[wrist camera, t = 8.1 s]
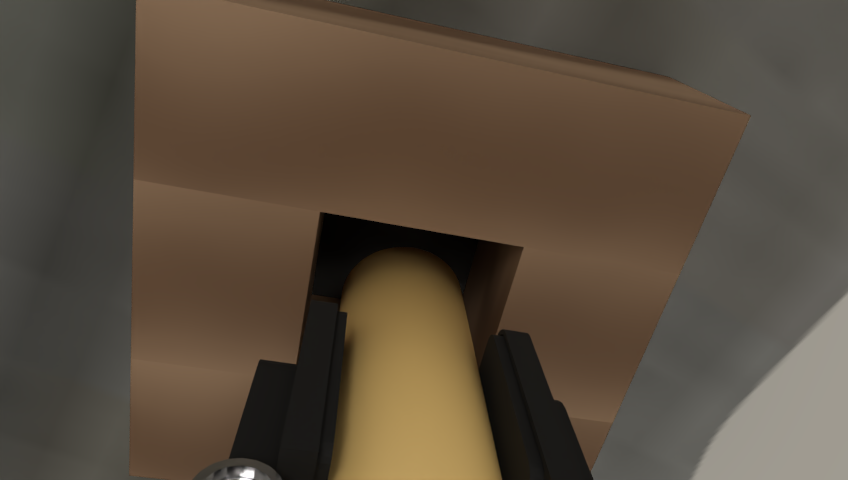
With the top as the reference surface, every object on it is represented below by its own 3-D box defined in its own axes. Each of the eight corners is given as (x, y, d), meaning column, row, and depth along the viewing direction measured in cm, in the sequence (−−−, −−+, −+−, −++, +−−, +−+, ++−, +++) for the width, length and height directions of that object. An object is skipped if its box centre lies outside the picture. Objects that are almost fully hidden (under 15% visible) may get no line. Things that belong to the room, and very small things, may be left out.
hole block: (198, -29, 14) (136, -19, 11) (668, 77, 16) (751, 115, 12) (177, 376, 19) (129, 475, 16) (536, 423, 21) (567, 522, 17)
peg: (351, 236, 14) (294, 725, 5) (474, 258, 15) (612, 743, 6) (332, 340, 16) (259, 879, 7) (446, 357, 16) (523, 883, 7)
